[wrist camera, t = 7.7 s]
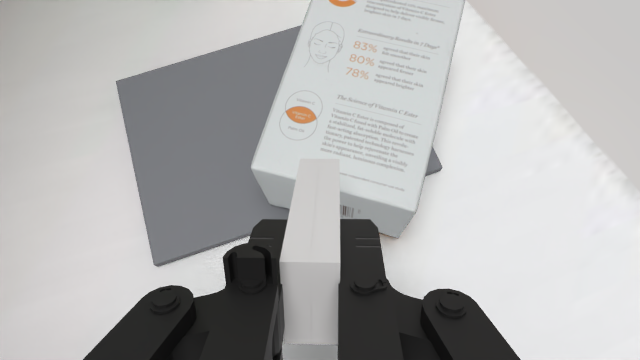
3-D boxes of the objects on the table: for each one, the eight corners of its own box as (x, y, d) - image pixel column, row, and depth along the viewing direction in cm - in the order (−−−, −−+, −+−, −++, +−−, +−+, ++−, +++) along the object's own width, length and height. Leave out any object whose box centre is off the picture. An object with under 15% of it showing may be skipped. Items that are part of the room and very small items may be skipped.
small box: (398, 241, 25) (443, 56, 29) (417, 214, 19) (471, -16, 23) (266, 204, 26) (327, 30, 30) (245, 167, 20) (324, -45, 24)
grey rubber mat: (120, 86, 30) (115, 81, 29) (365, 11, 31) (365, 5, 30) (157, 266, 25) (153, 265, 25) (440, 170, 27) (442, 167, 26)
